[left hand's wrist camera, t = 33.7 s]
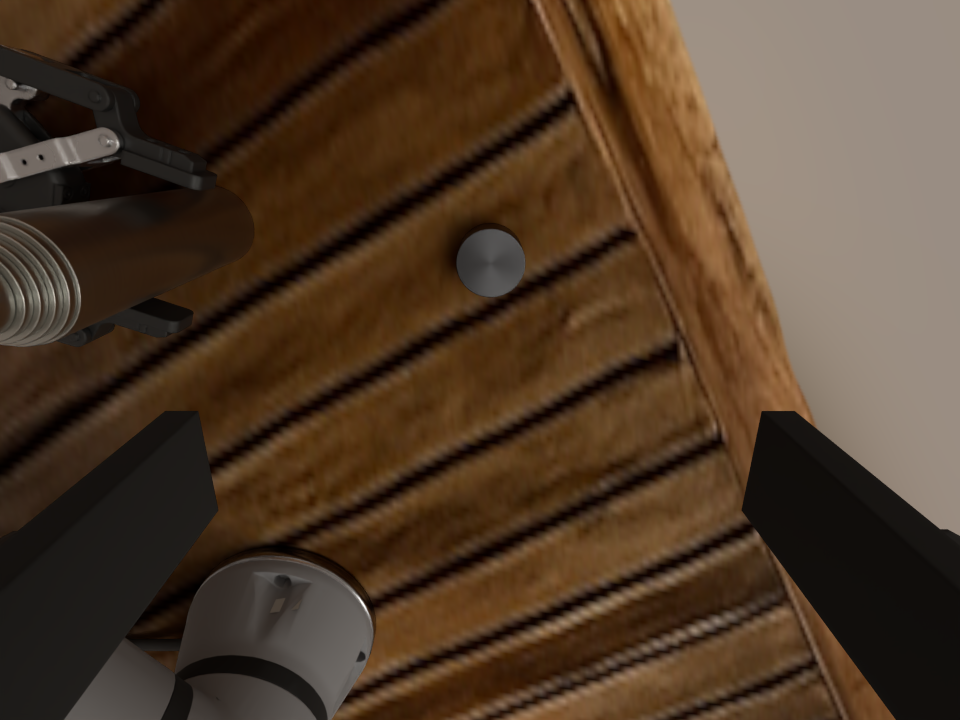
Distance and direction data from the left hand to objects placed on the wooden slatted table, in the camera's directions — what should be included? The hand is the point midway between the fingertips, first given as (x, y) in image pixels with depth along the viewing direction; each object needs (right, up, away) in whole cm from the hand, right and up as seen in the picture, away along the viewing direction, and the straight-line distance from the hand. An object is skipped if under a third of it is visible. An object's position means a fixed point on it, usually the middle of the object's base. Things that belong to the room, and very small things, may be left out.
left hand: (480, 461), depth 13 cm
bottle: (-17, +11, +22) cm, 30 cm away
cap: (+1, +8, +20) cm, 22 cm away
